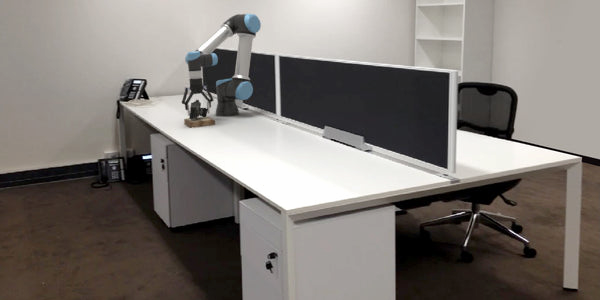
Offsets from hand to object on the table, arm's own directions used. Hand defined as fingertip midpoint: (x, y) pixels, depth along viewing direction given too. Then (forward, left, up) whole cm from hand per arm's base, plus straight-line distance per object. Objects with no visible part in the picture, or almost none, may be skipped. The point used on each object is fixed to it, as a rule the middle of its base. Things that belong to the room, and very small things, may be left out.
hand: (198, 114), depth 357 cm
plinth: (0, 0, -6) cm, 6 cm away
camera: (0, -1, -2) cm, 3 cm away
